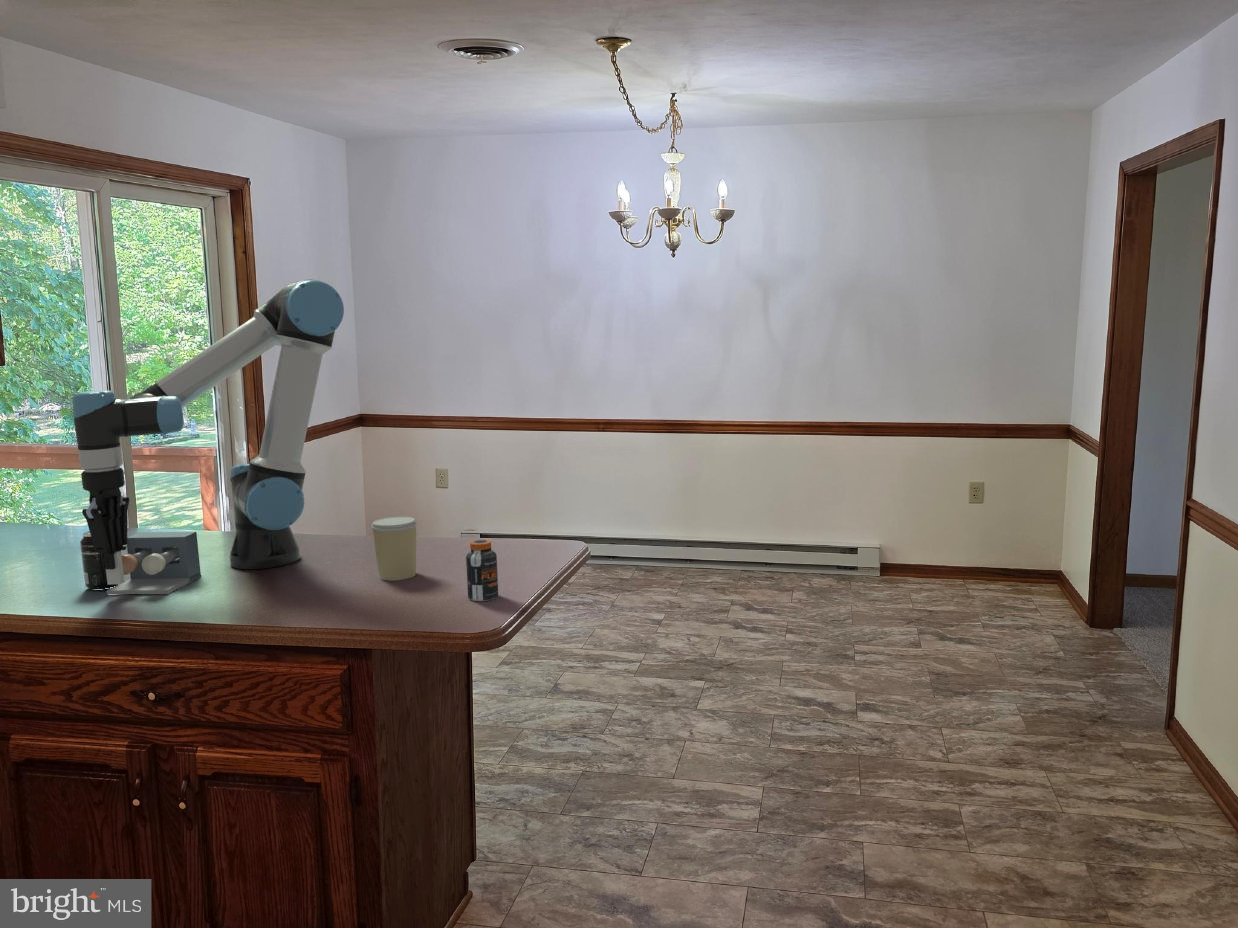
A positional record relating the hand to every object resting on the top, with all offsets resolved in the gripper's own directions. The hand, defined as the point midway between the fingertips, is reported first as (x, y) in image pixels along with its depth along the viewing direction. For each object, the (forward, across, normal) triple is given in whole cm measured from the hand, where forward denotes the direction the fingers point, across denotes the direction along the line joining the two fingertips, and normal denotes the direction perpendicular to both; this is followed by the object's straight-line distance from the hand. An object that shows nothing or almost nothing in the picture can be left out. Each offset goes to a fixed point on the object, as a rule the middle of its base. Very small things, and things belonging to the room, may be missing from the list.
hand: (116, 583), depth 199 cm
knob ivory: (-1, -10, +6) cm, 11 cm away
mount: (+3, -9, +3) cm, 10 cm away
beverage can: (+3, -8, -8) cm, 12 cm away
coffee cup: (+4, -14, +54) cm, 56 cm away
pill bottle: (+4, +3, +76) cm, 76 cm away
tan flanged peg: (-1, -10, 0) cm, 10 cm away
